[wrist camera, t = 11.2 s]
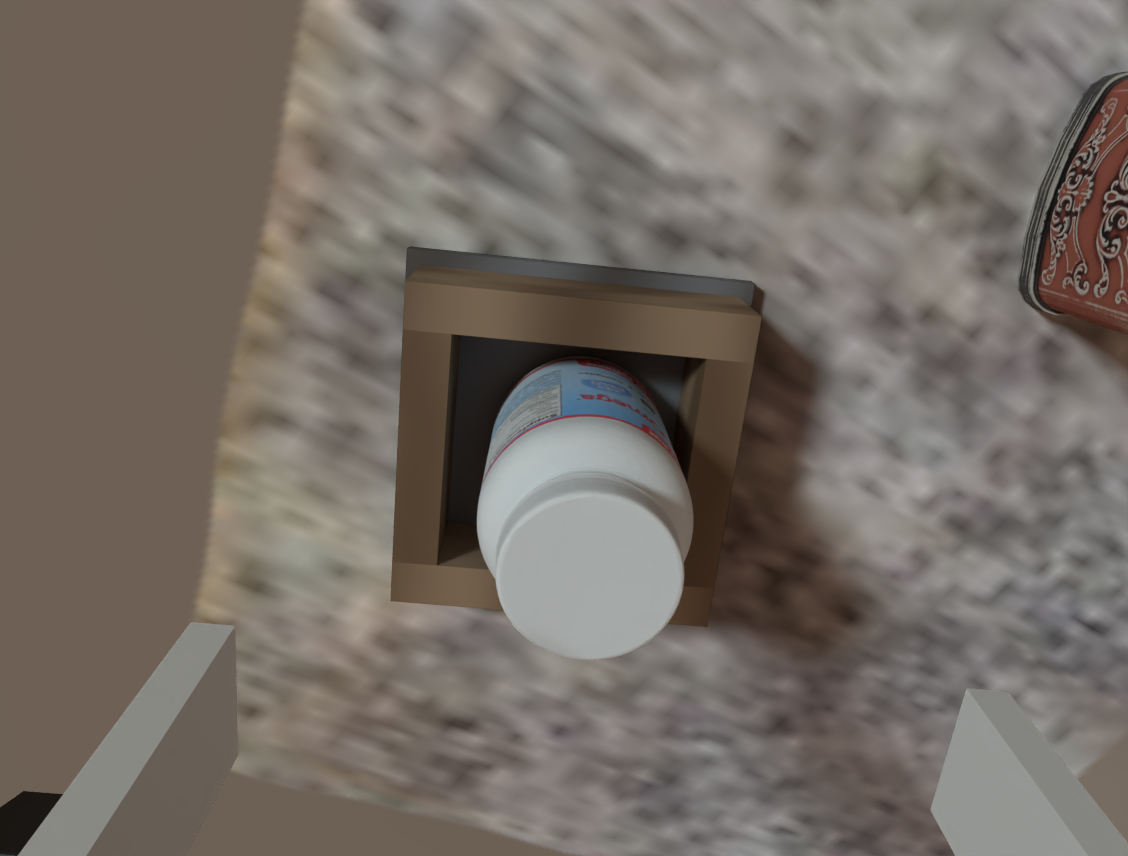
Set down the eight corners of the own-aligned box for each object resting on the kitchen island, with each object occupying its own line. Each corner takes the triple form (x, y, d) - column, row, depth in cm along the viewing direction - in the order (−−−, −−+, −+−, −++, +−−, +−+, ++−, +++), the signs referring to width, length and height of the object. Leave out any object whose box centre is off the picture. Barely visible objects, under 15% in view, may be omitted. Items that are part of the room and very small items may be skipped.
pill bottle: (693, 440, 32) (767, 592, 21) (565, 539, 33) (576, 730, 22) (586, 315, 30) (610, 412, 20) (457, 424, 32) (413, 570, 21)
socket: (751, 281, 31) (780, 302, 27) (699, 583, 34) (718, 640, 31) (409, 246, 30) (389, 262, 26) (394, 557, 34) (375, 612, 30)
